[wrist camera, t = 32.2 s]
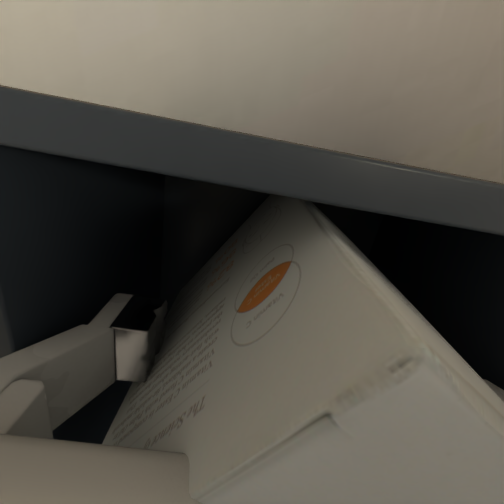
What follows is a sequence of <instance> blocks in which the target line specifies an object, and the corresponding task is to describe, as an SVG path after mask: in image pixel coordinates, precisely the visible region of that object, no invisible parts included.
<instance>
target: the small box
mask: <svg viewBox="0 0 504 504" xmlns="http://www.w3.org/2000/svg"><path fill="white" fill-rule="evenodd" d="M165 321H166V333H165V338H164V341H163V345H162V347H161V350H160V352H159V353H158V354H157V355H155V363H154V365H153V368H152V370H151V372H150V374H149V376H148V379H147V381H146V382H145V383H144V382H133V383H132V385H131V386H130V388H129V390H128V392H127V394H126V396H125V398H124V400H123V402H122V404H121V406H120V408H119V410H118V412H117V414H116V416H115V418H114V420H113V422H112V424H111V426H110V428H109V430H108V432H107V434H106V436H105V439H104V441H103V443H102V444H104V445H114V446H123V447H133V448H142V449H152V450H161V451H171V452H180V453H185V454H186V455H187V456H188V459H189V464H190V469H189V494H190V496H191V498H193V499H195V500H197V501H199V502H201V503H203V504H504V402H503V401H502V400H501V399H500V397H499V396H498V395H497V394H496V393H495V392H494V391H493V390H492V389H491V388H490V387H489V386H488V385H487V384H486V382H485V381H484V380H483V379H482V378H481V377H480V376H479V375H478V374H477V373H476V372H475V371H474V370H473V369H472V368H471V366H470V365H469V364H468V363H467V362H466V361H465V360H464V359H463V358H462V357H461V356H460V355H459V354H458V353H457V352H456V351H455V350H454V348H453V347H452V346H451V345H450V344H449V343H448V342H447V341H446V340H445V339H444V338H443V337H442V336H441V335H440V334H439V332H438V331H437V330H436V329H435V328H434V327H433V326H432V325H431V324H430V323H429V322H428V321H427V320H426V319H425V317H424V316H423V315H422V314H421V313H420V312H419V311H418V310H417V309H416V308H415V307H414V306H413V305H412V304H411V303H410V302H409V301H408V299H407V298H406V297H405V296H404V295H403V294H402V293H401V292H400V291H399V290H398V289H397V288H396V287H395V286H394V285H393V284H392V283H391V282H390V281H389V280H388V278H387V277H386V276H385V275H384V274H383V273H382V272H381V271H380V270H379V269H378V268H377V267H376V266H375V265H374V264H373V263H372V262H371V261H370V260H369V259H368V258H367V257H366V256H365V255H364V254H363V253H362V252H361V251H360V250H359V249H358V247H357V246H356V245H355V244H354V243H353V242H352V241H351V240H350V239H349V238H348V237H347V236H346V235H345V234H344V233H343V232H342V231H341V230H340V229H339V228H338V227H337V226H336V225H335V224H334V223H333V222H332V221H331V220H330V219H329V218H328V217H327V216H326V215H325V214H324V213H322V212H321V211H320V210H319V209H318V208H317V207H316V206H315V205H314V204H313V203H312V202H311V201H307V200H302V199H296V198H291V197H285V196H279V195H274V194H270V195H269V196H268V198H267V199H266V200H265V201H264V202H263V203H262V204H261V205H260V206H259V207H258V208H257V209H256V210H255V211H254V213H253V214H252V215H251V216H250V217H249V218H248V219H247V220H246V221H245V222H244V223H243V224H242V225H241V226H240V227H239V229H238V230H237V231H236V232H235V233H234V234H233V235H232V236H231V237H230V238H229V239H228V240H227V241H226V242H225V243H224V245H223V246H222V247H221V248H220V249H219V250H218V251H217V252H216V253H215V254H214V255H213V256H212V257H211V258H210V259H209V261H208V262H207V263H206V264H205V265H204V266H203V267H202V268H201V269H200V270H199V271H198V272H197V273H196V274H195V275H194V277H193V278H192V279H191V280H190V281H189V282H188V283H187V284H186V285H185V286H184V287H183V288H182V289H181V290H180V292H179V294H178V296H177V297H176V299H175V301H174V303H173V305H172V307H171V309H170V311H169V312H168V314H167V316H166V318H165Z"/></svg>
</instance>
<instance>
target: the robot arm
mask: <svg viewBox="0 0 504 504" xmlns="http://www.w3.org/2000/svg"><path fill="white" fill-rule="evenodd" d="M167 304H168V303H167V300H162V299H156V298H150V297H144V296H138V295H132V294H125V293H117V294H115V295H114V296H113V297H112V298H111V299H110V300H109V302H108V303H107V304H106V305H105V306H104V307H103V308H102V309H101V310H100V312H99V313H98V314H97V315H96V316H95V317H94V318H93V319H92V321H91V322H90V323H89V324H88V325H84V324H82V325H79V326H77V327H74V328H72V329H70V330H67V331H65V332H62V333H60V334H58V335H55V336H53V337H50V338H48V339H45V340H43V341H41V342H38V343H36V344H33V345H31V346H28V347H26V348H24V349H21V350H19V351H16V352H14V353H12V354H9V355H7V356H4V357H2V358H0V504H203V503H201V502H199V501H197V500H195V499H193V498H191V496H190V494H189V469H190V464H189V459H188V456H187V455H186V454H185V453H180V452H171V451H161V450H152V449H142V448H133V447H123V446H114V445H104V444H95V443H85V442H76V441H66V440H57V439H54V438H53V433H52V431H53V430H54V429H56V428H57V427H58V426H59V425H61V424H62V423H63V422H64V421H66V420H67V419H68V418H70V417H71V416H72V415H73V414H75V413H76V412H77V411H79V410H80V409H81V408H82V407H84V406H85V405H86V404H87V403H89V402H90V401H91V400H93V399H94V398H95V397H96V396H98V395H99V394H100V393H102V392H103V391H104V390H105V389H107V388H108V387H109V386H110V385H112V384H113V383H114V382H115V380H122V381H133V382H144V383H145V382H146V381H147V379H148V376H149V374H150V372H151V370H152V368H153V365H154V363H155V355H157V354H158V353H159V352H160V350H161V347H162V345H163V341H164V338H165V333H166V321H165V320H164V317H165V315H166V313H167ZM483 380H484V381H485V382H486V384H487V385H488V386H489V387H490V388H491V389H492V390H493V391H494V392H495V393H496V394H497V395H498V396H499V397H500V399H501V400H502V401H503V402H504V390H503V389H501V388H499V387H498V386H496V385H494V384H493V383H491V382H489V381H488V380H486V379H483Z"/></svg>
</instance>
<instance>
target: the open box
mask: <svg viewBox="0 0 504 504" xmlns="http://www.w3.org/2000/svg"><path fill="white" fill-rule="evenodd" d="M270 194H274V195H279V196H285V197H291V198H296V199H302V200H307V201H311V202H312V203H313V204H314V205H315V206H316V207H317V208H318V209H319V210H320V211H321V212H322V213H324V214H325V215H326V216H327V217H328V218H329V219H330V220H331V221H332V222H333V223H334V224H335V225H336V226H337V227H338V228H339V229H340V230H341V231H342V232H343V233H344V234H345V235H346V236H347V237H348V238H349V239H350V240H351V241H352V242H353V243H354V244H355V245H356V246H357V247H358V249H359V250H360V251H361V252H362V253H363V254H364V255H365V256H366V257H367V258H368V259H369V260H370V261H371V262H372V263H373V264H374V265H375V266H376V267H377V268H378V269H379V270H380V271H381V272H382V273H383V274H384V275H385V276H386V277H387V278H388V280H389V281H390V282H391V283H392V284H393V285H394V286H395V287H396V288H397V289H398V290H399V291H400V292H401V293H402V294H403V295H404V296H405V297H406V298H407V299H408V301H409V302H410V303H411V304H412V305H413V306H414V307H415V308H416V309H417V310H418V311H419V312H420V313H421V314H422V315H423V316H424V317H425V319H426V320H427V321H428V322H429V323H430V324H431V325H432V326H433V327H434V328H435V329H436V330H437V331H438V332H439V334H440V335H441V336H442V337H443V338H444V339H445V340H446V341H447V342H448V343H449V344H450V345H451V346H452V347H453V348H454V350H455V351H456V352H457V353H458V354H459V355H460V356H461V357H462V358H463V359H464V360H465V361H466V362H467V363H468V364H469V365H470V366H471V368H472V369H473V370H474V371H475V372H476V373H477V374H478V375H479V376H480V377H481V378H482V379H486V380H488V381H489V382H491V383H493V384H494V385H496V386H498V387H499V388H501V389H503V390H504V184H501V183H496V182H491V181H486V180H481V179H476V178H471V177H466V176H460V175H455V174H450V173H445V172H440V171H435V170H430V169H425V168H420V167H415V166H410V165H404V164H399V163H394V162H389V161H384V160H379V159H374V158H369V157H364V156H359V155H354V154H348V153H343V152H338V151H333V150H328V149H323V148H318V147H313V146H308V145H303V144H298V143H292V142H287V141H282V140H277V139H272V138H267V137H262V136H257V135H252V134H247V133H242V132H236V131H231V130H226V129H221V128H216V127H211V126H206V125H201V124H196V123H191V122H186V121H180V120H175V119H170V118H165V117H160V116H155V115H150V114H145V113H140V112H135V111H130V110H124V109H119V108H114V107H109V106H104V105H99V104H94V103H89V102H84V101H79V100H74V99H68V98H63V97H58V96H53V95H48V94H43V93H38V92H33V91H28V90H23V89H18V88H12V87H7V86H2V85H0V358H2V357H4V356H7V355H9V354H12V353H14V352H16V351H19V350H21V349H24V348H26V347H28V346H31V345H33V344H36V343H38V342H41V341H43V340H45V339H48V338H50V337H53V336H55V335H58V334H60V333H62V332H65V331H67V330H70V329H72V328H74V327H77V326H79V325H82V324H84V325H88V324H89V323H90V322H91V321H92V319H93V318H94V317H95V316H96V315H97V314H98V313H99V312H100V310H101V309H102V308H103V307H104V306H105V305H106V304H107V303H108V302H109V300H110V299H111V298H112V297H113V296H114V295H115V294H117V293H125V294H132V295H138V296H144V297H150V298H156V299H162V300H167V303H168V304H167V313H166V315H165V317H164V320H165V318H166V316H167V314H168V312H169V311H170V309H171V307H172V305H173V303H174V301H175V299H176V297H177V296H178V294H179V292H180V290H181V289H182V288H183V287H184V286H185V285H186V284H187V283H188V282H189V281H190V280H191V279H192V278H193V277H194V275H195V274H196V273H197V272H198V271H199V270H200V269H201V268H202V267H203V266H204V265H205V264H206V263H207V262H208V261H209V259H210V258H211V257H212V256H213V255H214V254H215V253H216V252H217V251H218V250H219V249H220V248H221V247H222V246H223V245H224V243H225V242H226V241H227V240H228V239H229V238H230V237H231V236H232V235H233V234H234V233H235V232H236V231H237V230H238V229H239V227H240V226H241V225H242V224H243V223H244V222H245V221H246V220H247V219H248V218H249V217H250V216H251V215H252V214H253V213H254V211H255V210H256V209H257V208H258V207H259V206H260V205H261V204H262V203H263V202H264V201H265V200H266V199H267V198H268V196H269V195H270ZM132 383H133V381H122V380H115V382H114V383H113V384H112V385H110V386H109V387H108V388H107V389H105V390H104V391H103V392H102V393H100V394H99V395H98V396H96V397H95V398H94V399H93V400H91V401H90V402H89V403H87V404H86V405H85V406H84V407H82V408H81V409H80V410H79V411H77V412H76V413H75V414H73V415H72V416H71V417H70V418H68V419H67V420H66V421H64V422H63V423H62V424H61V425H59V426H58V427H57V428H56V429H54V430H53V431H52V433H53V438H54V439H57V440H66V441H76V442H85V443H95V444H102V443H103V441H104V439H105V436H106V434H107V432H108V430H109V428H110V426H111V424H112V422H113V420H114V418H115V416H116V414H117V412H118V410H119V408H120V406H121V404H122V402H123V400H124V398H125V396H126V394H127V392H128V390H129V388H130V386H131V385H132Z"/></svg>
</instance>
